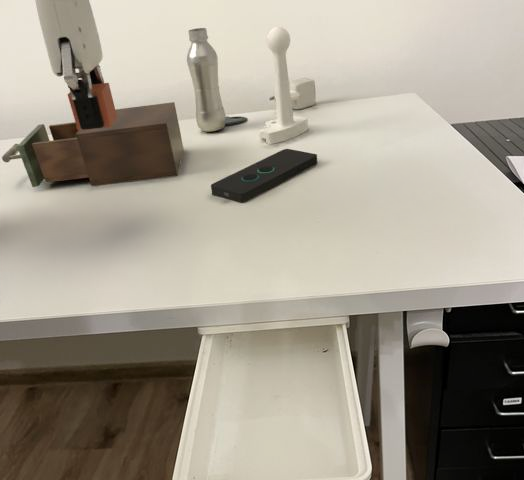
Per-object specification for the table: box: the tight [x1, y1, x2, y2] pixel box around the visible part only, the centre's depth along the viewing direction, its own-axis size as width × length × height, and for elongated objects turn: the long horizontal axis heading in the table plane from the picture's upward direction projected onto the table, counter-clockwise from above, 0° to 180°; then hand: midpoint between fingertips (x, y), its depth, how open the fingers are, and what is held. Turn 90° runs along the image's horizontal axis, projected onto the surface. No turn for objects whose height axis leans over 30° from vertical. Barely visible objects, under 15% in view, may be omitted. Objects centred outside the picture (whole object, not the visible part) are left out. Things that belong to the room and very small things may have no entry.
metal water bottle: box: [186, 27, 227, 132], centre depth 118 cm, size 6×7×20 cm
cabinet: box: [76, 101, 185, 187], centre depth 107 cm, size 17×15×10 cm
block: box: [67, 82, 117, 130], centre depth 78 cm, size 5×5×5 cm
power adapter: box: [268, 77, 317, 110], centre depth 129 cm, size 11×5×6 cm, turn 122°
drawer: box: [1, 121, 89, 188], centre depth 108 cm, size 21×13×8 cm, turn 92°
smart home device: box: [210, 148, 318, 204], centre depth 97 cm, size 8×2×20 cm
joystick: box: [258, 26, 309, 145], centre depth 110 cm, size 11×8×20 cm
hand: (96, 120), depth 79 cm, fingers closed on block, 4 cm apart
